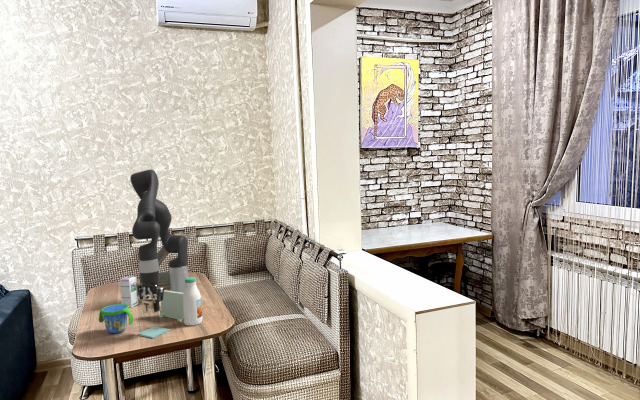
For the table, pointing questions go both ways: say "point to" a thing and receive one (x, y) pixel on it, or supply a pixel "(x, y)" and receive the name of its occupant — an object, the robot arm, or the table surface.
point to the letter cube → (149, 306)
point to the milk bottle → (192, 303)
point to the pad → (153, 332)
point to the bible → (164, 276)
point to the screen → (172, 305)
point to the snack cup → (115, 317)
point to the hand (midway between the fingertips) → (152, 310)
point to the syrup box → (129, 291)
